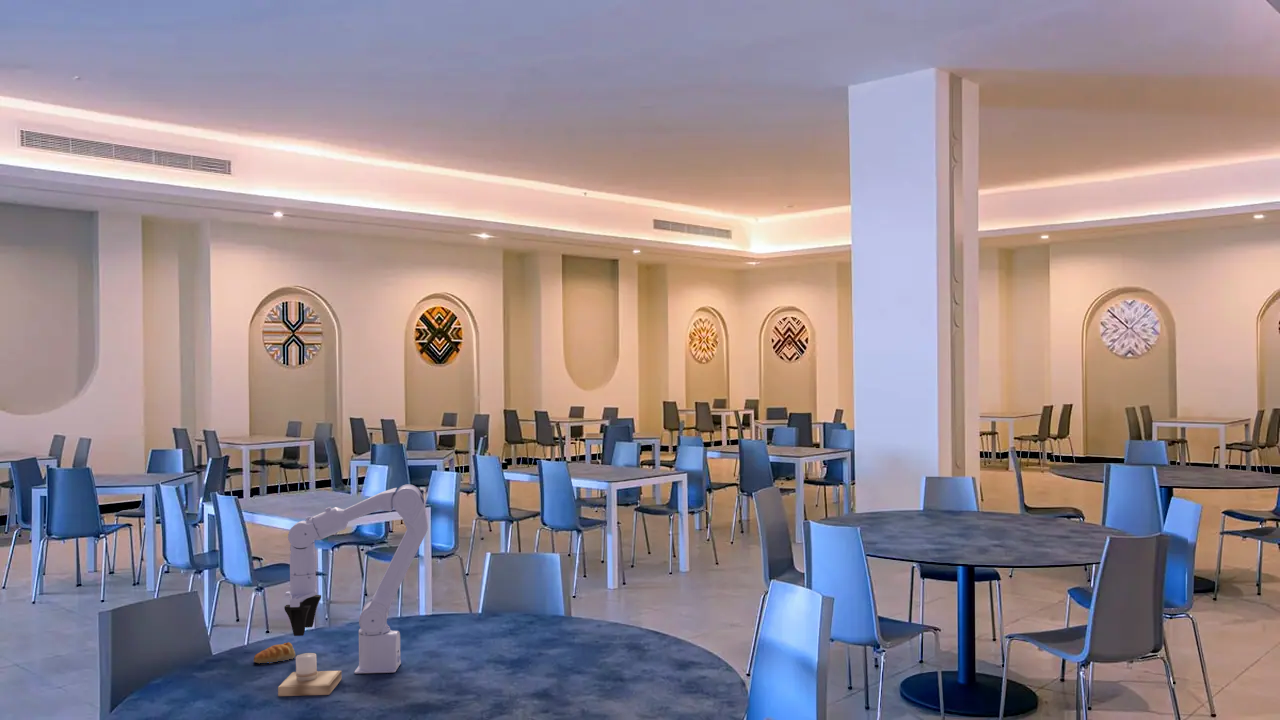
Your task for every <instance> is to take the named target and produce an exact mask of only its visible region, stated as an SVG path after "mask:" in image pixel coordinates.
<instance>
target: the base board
mask: <svg viewBox="0 0 1280 720" xmlns="http://www.w3.org/2000/svg"><path fill="white" fill-rule="evenodd" d="M342 672H343V671H342V670H321V671H320V670H317V678H316V679H313V680H310V681H297V680H296V671H292V672H291V673H290V674H289V676H287V677H286V678H285V679H284V680H283V681H282V682H281V684H280V685H279V686H277V697H293V696H296V697H297V696H327V695H328V696H329V695H331V693H332V692H333V691H334V689H335V688H336V687H337V686H338V684H339V683H340V682H341V681H342V677H343V676H342Z"/></svg>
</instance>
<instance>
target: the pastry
mask: <svg viewBox="0 0 1280 720" xmlns="http://www.w3.org/2000/svg"><path fill="white" fill-rule="evenodd" d="M296 656H297V655H296V651H295V649H294V647H293V644H292V643H291V642H284V643H282V644H274V645H271V646H269V647H268V648H266V649H264V650H261V651H260V652H258V653H256V654H255V655H254V658H253V663H257V664H260V663H267V662H269V664H271V663H270V662H277V661H283V660H288V661H290V660H289V659H292V660H294V659H295V658H296ZM293 658H294V659H293ZM283 662H284V661H283Z"/></svg>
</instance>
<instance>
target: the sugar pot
mask: <svg viewBox="0 0 1280 720" xmlns="http://www.w3.org/2000/svg"><path fill="white" fill-rule="evenodd" d="M317 663H318V662H317V653H314V652H306V653H305V652H304V653H301V654H297V655H296V656H295V672H296V680H297V681H310V680H313V679H316V678H317V671H318V667H317Z"/></svg>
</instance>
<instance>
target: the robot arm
mask: <svg viewBox="0 0 1280 720" xmlns="http://www.w3.org/2000/svg"><path fill="white" fill-rule="evenodd" d="M379 510H380V511H387V512H392V511H393V510H395V512H396V513H397V514H398V515H399V516H400V517H401V518H402V521H403V523H404V525H405V528H406V530H405V533H404V535H403V536H402V539H401V540H400V543H399V545H398V546H397V549H396V551H395V552H394V554H393V556H392V558H391V561H390V563H389V564H388V567H387V568H386V571H385V573H384V574H383V577H382V579H381V580H380V582H379V584H378V586H377V589H376V590H375V592H374V594H373V596H372V597H371V598H370V599H369V600H368V601H366V602H365V603H364V605H363V607H362V609H361V611H362V612H361V613H360V615H359V618H358V624H359V627H360V628H359V629H358V666H357V668H355V670H354V674H386V673H387V674H388V673H389V674H390V673H396V671H397V670H398V668H399V666H400V665H401V664H402V661H401V633H400V631H399V630H392V629H391V627H390V626H389V624H388V622H387V621H388V617H389V614H390V607H392V606H391V605H392V603H393V601H394V599H395V597H396V594H397V593H398V591H399V588H400V586H401V585H402V583H403V580H404V578H405V577H406V574H407V573H408V570H409V569H410V566H411V564H412V563H413V560H414V558H415V557H416V555H417V552H418V551H419V548H420V547H421V544H422V542H423V541H424V538H425V536H426V534H427V531H428V529H429V523H428V517H427V516H428V515H427V510H426V503H425V497H424V495H423V494H422V492H421V491H420V489H419V488H418V487H417V486H416V485H413V484H409V483H408V484H407V483H406V484H404V485H401V486H400V487H399V488H397V487H394V488H389V489H387V490H384V491H381V492H379V493H376V494H374V495H372V496H370V497H369V498H366V499H364V500H361V501H359V502H356V503H355V504H353V505H351V506H348V507H347V508H340V507H337V506H334V507H332V506H328V507H326V508H325V509H324V511H323V512H320V513H318V514H316V515H313V516H310V515H308V516H306V517H305V520H300V521H298V522H296V523H295V524H294V525H293V526H292V527H291V528H290V529H289V530H288V531H289V532H288V534H287V536H288V537H287V539H288V543H289V544H290V547H289V548H290V549H289V550H290V553H289V590H290V591H289V590H288V591H286V592H285V593H284V596H285V597H289V598H290V599H289V604H285V605H284V611H285V613H286V615H287V616H288V619H289V621H290V625H291V631H292V633H293V636H294V637H300V636H301V637H303V636H304V635H305V632H306V628H313V625H314V623H315V617H316V611H317V609H318V606H319V603H320V601H321V598H322V594H317V593H318V591H317V585H316V584H317V582H316V581H317V580H316V579H317V577H316V575H317V574H316V572H317V571H316V570H317V569H316V565H317V564H316V562H317V561H316V552H315V548H316V547H315V546H316V544H315V541H317V540H318V541H321V540H324V539H326V538H328V537H330V536H333V535H335V534H337V533H340V532H342V531H344V530H346V529H347V526H348V524H349V522H352V521H354V520H357V519H359V518H362V517H364V516H367V515H369V514H371V513H374V512H375V513H376V512H377V511H379Z"/></svg>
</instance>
